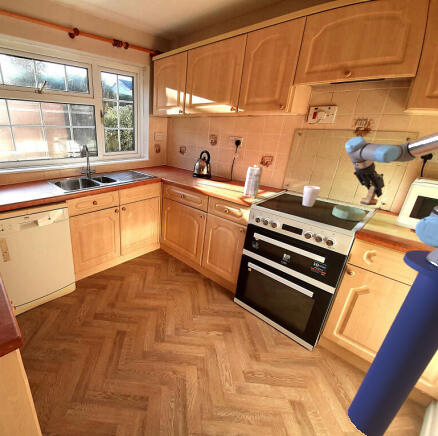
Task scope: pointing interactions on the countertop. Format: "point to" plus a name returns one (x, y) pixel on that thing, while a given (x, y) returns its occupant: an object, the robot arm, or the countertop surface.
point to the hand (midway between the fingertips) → (376, 194)
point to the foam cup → (310, 195)
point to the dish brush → (370, 197)
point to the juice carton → (252, 181)
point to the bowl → (348, 213)
